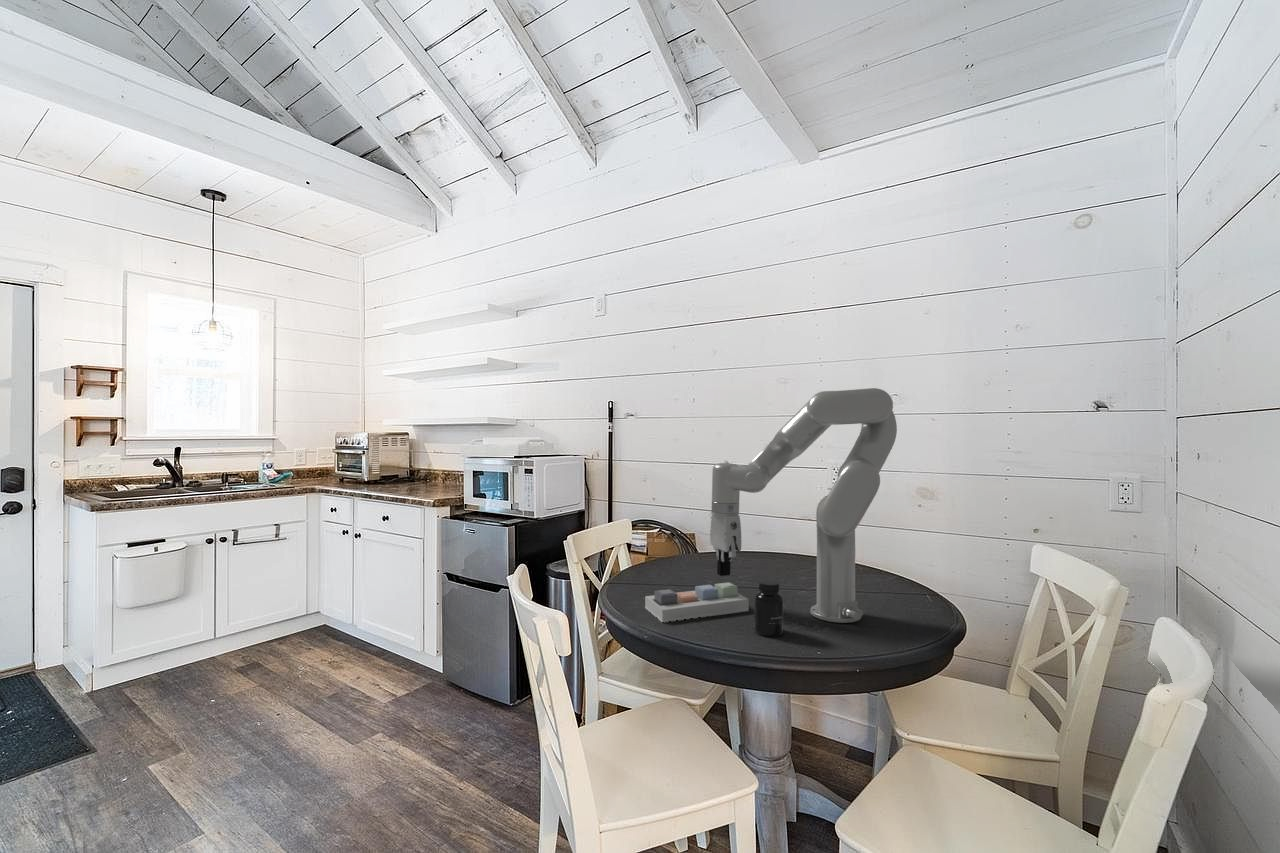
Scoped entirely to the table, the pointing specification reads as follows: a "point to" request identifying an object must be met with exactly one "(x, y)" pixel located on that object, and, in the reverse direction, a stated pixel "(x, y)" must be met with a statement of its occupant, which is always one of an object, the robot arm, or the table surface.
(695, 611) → the keypad
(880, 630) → the table surface
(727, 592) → the key sage
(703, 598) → the key slate
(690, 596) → the key terracotta
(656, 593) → the key charcoal
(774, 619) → the supplement bottle
